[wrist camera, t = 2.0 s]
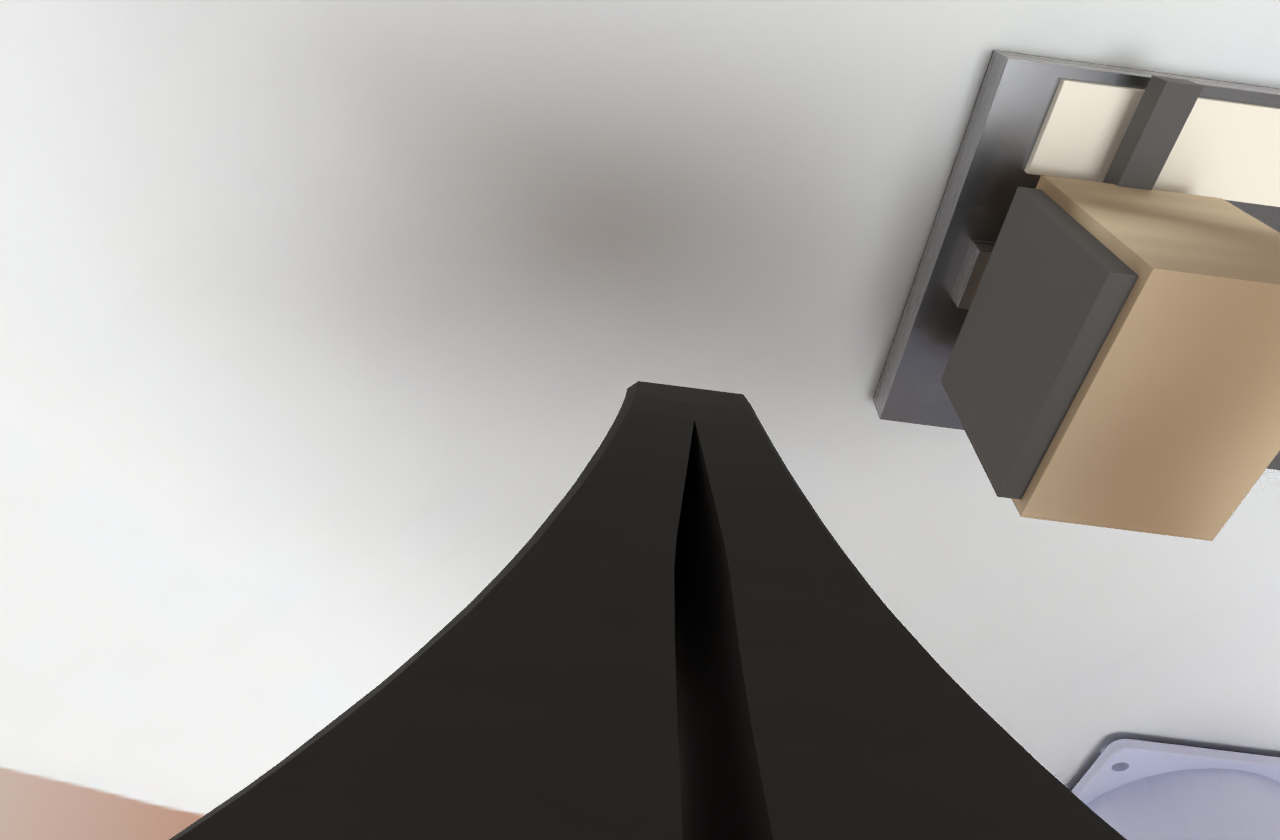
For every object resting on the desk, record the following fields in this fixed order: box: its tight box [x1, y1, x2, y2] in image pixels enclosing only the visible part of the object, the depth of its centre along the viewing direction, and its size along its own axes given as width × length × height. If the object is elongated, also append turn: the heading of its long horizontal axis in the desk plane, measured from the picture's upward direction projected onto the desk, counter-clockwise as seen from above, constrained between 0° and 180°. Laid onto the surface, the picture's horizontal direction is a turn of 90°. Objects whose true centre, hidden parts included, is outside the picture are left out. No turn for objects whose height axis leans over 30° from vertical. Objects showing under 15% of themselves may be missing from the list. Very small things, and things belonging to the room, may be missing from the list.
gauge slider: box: [941, 75, 1280, 541], centre depth 13 cm, size 4×6×4 cm, turn 174°
